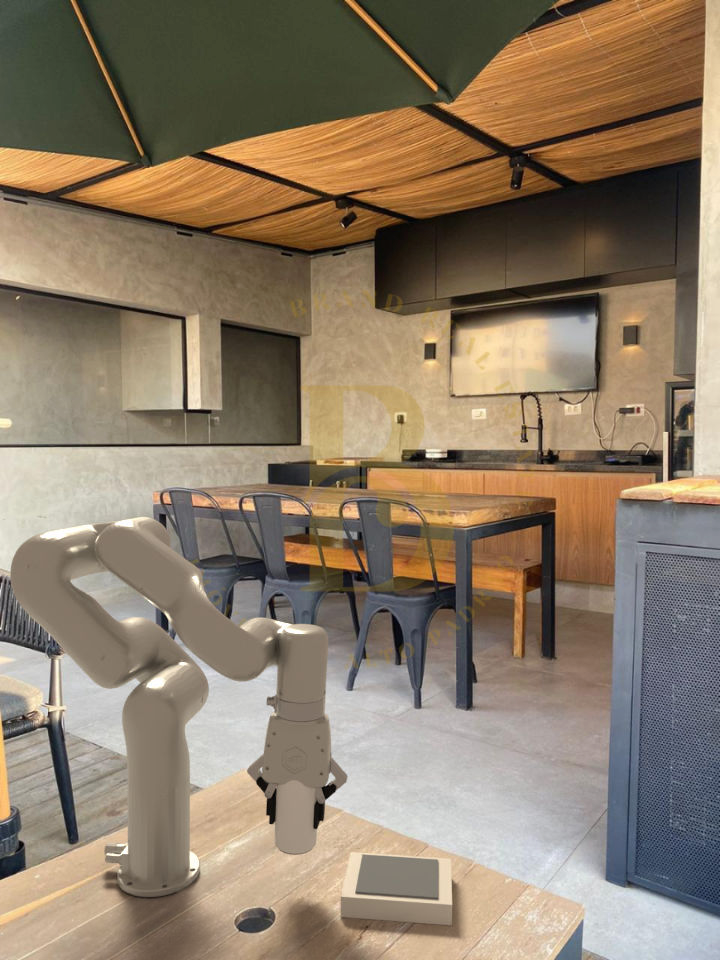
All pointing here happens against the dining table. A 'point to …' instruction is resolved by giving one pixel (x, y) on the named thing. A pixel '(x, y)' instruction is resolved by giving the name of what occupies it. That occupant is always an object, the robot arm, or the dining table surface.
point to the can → (295, 818)
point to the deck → (398, 888)
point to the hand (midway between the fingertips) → (295, 821)
